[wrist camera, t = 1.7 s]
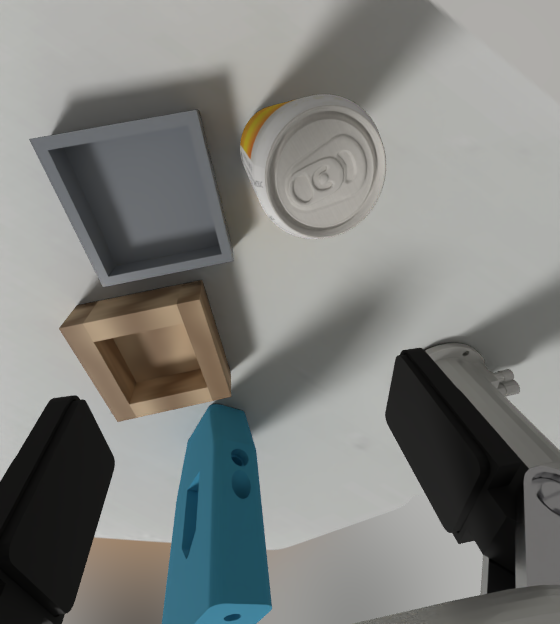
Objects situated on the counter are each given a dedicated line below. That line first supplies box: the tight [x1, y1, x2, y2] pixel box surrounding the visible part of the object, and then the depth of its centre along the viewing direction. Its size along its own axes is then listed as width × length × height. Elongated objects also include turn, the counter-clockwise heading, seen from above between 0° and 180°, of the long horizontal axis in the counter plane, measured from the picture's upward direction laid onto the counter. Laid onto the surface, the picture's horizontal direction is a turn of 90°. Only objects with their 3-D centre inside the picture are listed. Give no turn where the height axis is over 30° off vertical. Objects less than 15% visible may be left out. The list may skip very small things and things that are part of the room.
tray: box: [29, 110, 233, 287], centre depth 26 cm, size 11×11×3 cm
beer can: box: [240, 94, 386, 239], centre depth 20 cm, size 6×6×15 cm
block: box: [162, 404, 272, 624], centre depth 34 cm, size 12×5×20 cm, turn 150°
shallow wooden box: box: [59, 280, 231, 422], centre depth 33 cm, size 12×12×4 cm
